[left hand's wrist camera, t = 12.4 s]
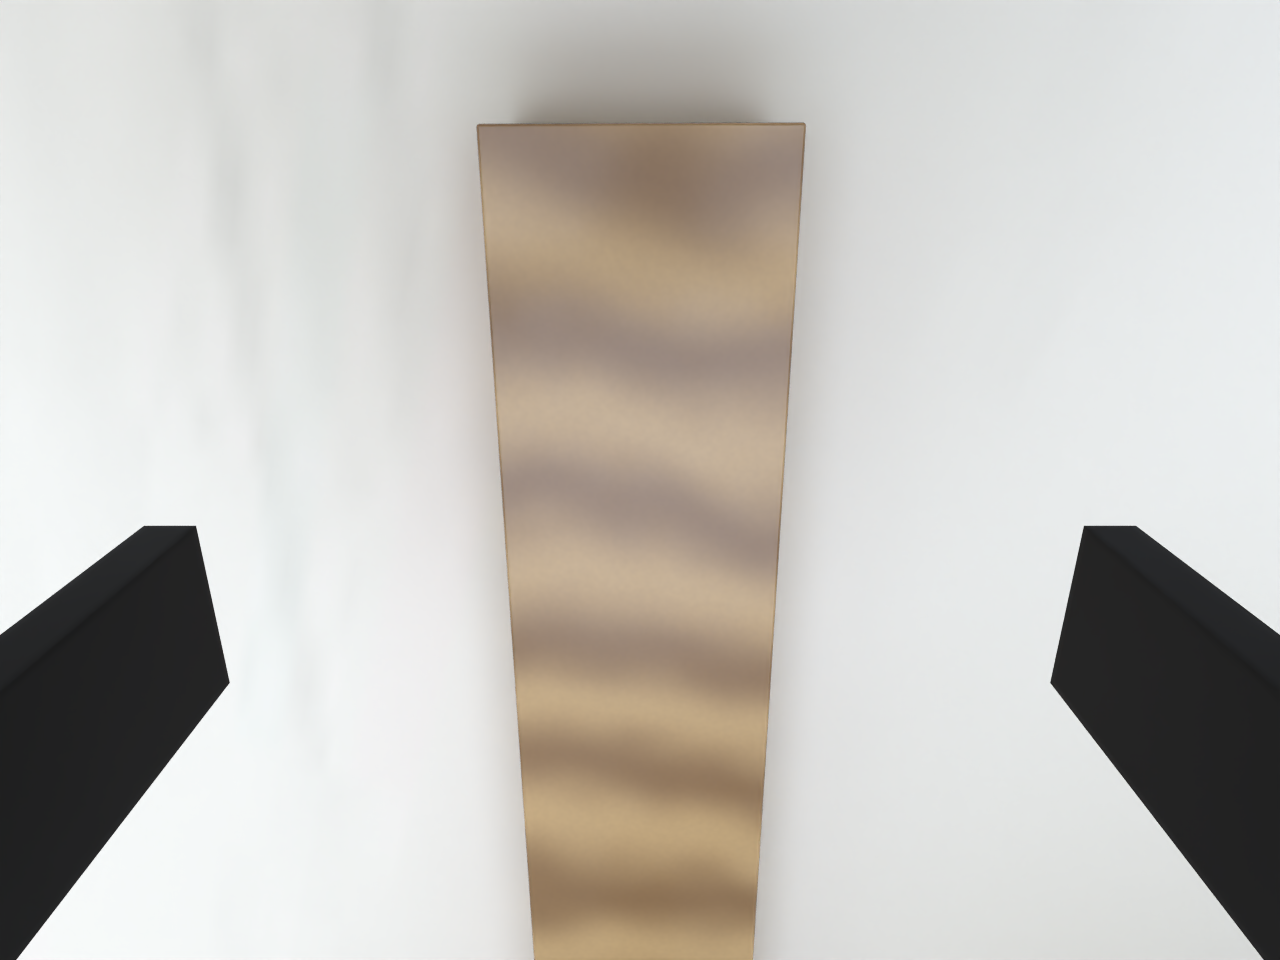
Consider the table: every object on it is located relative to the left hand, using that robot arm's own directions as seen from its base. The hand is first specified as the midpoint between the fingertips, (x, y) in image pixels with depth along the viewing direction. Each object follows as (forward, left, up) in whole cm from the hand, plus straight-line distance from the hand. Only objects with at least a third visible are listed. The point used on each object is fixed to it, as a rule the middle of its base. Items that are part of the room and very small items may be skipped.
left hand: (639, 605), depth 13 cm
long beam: (+30, -13, -21) cm, 39 cm away
